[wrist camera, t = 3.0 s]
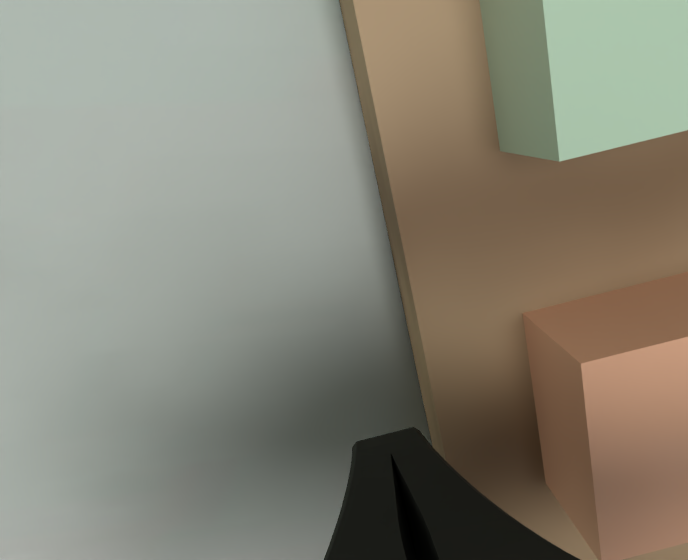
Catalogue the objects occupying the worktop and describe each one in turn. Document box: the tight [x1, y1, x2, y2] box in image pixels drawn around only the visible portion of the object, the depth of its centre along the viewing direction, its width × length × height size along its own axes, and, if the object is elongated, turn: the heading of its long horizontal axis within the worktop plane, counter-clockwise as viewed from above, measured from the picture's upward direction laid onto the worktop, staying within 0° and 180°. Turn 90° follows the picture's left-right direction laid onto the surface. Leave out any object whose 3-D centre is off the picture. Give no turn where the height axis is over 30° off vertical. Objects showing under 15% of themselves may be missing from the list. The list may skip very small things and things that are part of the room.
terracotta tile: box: [522, 272, 688, 560], centre depth 11 cm, size 4×4×2 cm
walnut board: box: [339, 0, 688, 560], centre depth 12 cm, size 20×10×2 cm, turn 13°
